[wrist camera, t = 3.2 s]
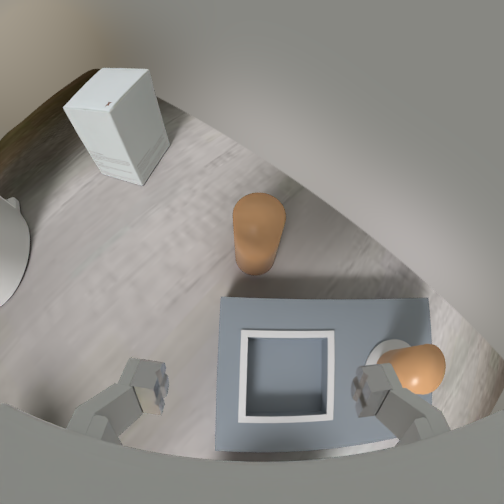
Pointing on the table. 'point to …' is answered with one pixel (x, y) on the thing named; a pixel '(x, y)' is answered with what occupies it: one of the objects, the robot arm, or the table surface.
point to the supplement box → (120, 123)
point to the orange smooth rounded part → (257, 232)
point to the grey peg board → (314, 369)
